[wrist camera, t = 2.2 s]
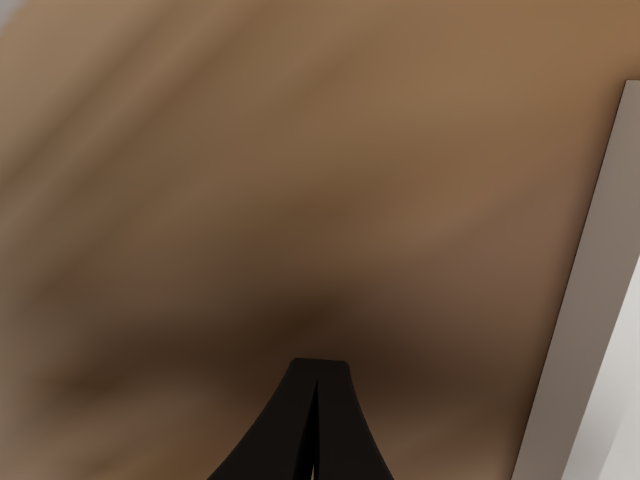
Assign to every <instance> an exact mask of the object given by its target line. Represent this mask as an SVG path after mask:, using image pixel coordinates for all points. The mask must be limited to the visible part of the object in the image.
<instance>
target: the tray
mask: <svg viewBox="0 0 640 480" xmlns="http://www.w3.org/2000/svg"><path fill="white" fill-rule="evenodd" d="M511 480H640V81H638V80H626V84H625V87H624V91H623V94H622V98H621V101H620V105H619V108H618V111H617V115H616V118H615V122H614V125H613V129H612V132H611V136H610V139H609V143H608V146H607V150H606V153H605V157H604V160H603V163H602V167H601V170H600V174H599V177H598V181H597V184H596V188H595V191H594V195H593V198H592V202H591V205H590V209H589V212H588V215H587V219H586V222H585V226H584V229H583V233H582V236H581V240H580V243H579V247H578V250H577V254H576V257H575V261H574V264H573V267H572V271H571V274H570V278H569V281H568V285H567V288H566V292H565V295H564V299H563V302H562V306H561V309H560V312H559V316H558V319H557V323H556V326H555V330H554V333H553V337H552V340H551V344H550V347H549V351H548V354H547V358H546V361H545V364H544V368H543V371H542V375H541V378H540V382H539V385H538V389H537V392H536V396H535V399H534V403H533V406H532V410H531V413H530V416H529V420H528V423H527V427H526V430H525V434H524V437H523V441H522V444H521V448H520V451H519V455H518V458H517V462H516V465H515V468H514V472H513V475H512V479H511Z"/></svg>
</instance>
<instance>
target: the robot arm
mask: <svg viewBox="0 0 640 480" xmlns="http://www.w3.org/2000/svg"><path fill="white" fill-rule="evenodd" d="M313 465H314V480H394V478H393V477H392V475H391V473H390V471H389V469H388V467H387V466H386V464H385V462H384V460H383V458H382V456H381V454H380V452H379V450H378V448H377V446H376V443H375V441H374V439H373V437H372V435H371V432H370V430H369V428H368V425H367V423H366V420H365V418H364V415H363V413H362V411H361V408H360V405H359V402H358V399H357V396H356V393H355V390H354V387H353V383H352V379H351V375H350V369H349V365H348V364H347V363H346V362H345V361H333V360H319V359H306V358H295V359H293V360H292V361H291V362H290V365H289V367H288V369H287V371H286V373H285V375H284V377H283V379H282V381H281V383H280V384H279V386H278V388H277V389H276V391H275V393H274V394H273V396H272V397H271V399H270V400H269V402H268V403H267V405H266V406H265V408H264V409H263V411H262V412H261V414H260V415H259V417H258V418H257V420H256V421H255V422H254V424H253V425H252V426H251V428H250V429H249V430H248V432H247V433H246V434H245V435H244V437H243V438H242V439H241V441H240V442H239V443H238V445H237V446H236V447H235V448H234V449H233V451H232V452H231V453H230V454H229V455H228V457H227V458H226V459H225V460H224V461H223V462H222V464H221V465H220V466H219V467H218V468H217V469H216V470H215V471H214V472H213V474H212V475H211V476H210V477H209V478H208V479H207V480H311V476H312V470H313Z"/></svg>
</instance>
